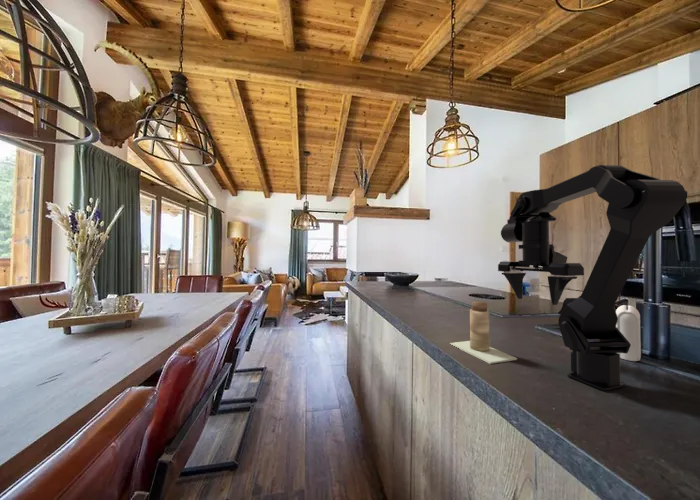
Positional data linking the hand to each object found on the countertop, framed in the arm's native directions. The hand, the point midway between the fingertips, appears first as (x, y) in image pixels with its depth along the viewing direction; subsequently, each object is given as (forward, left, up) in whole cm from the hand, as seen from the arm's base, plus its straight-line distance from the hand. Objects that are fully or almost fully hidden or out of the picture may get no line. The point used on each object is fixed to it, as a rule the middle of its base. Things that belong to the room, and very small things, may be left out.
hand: (536, 301), depth 68 cm
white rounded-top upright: (-8, -20, -13) cm, 25 cm away
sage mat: (+5, +13, -13) cm, 19 cm away
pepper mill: (+6, +13, -13) cm, 19 cm away
